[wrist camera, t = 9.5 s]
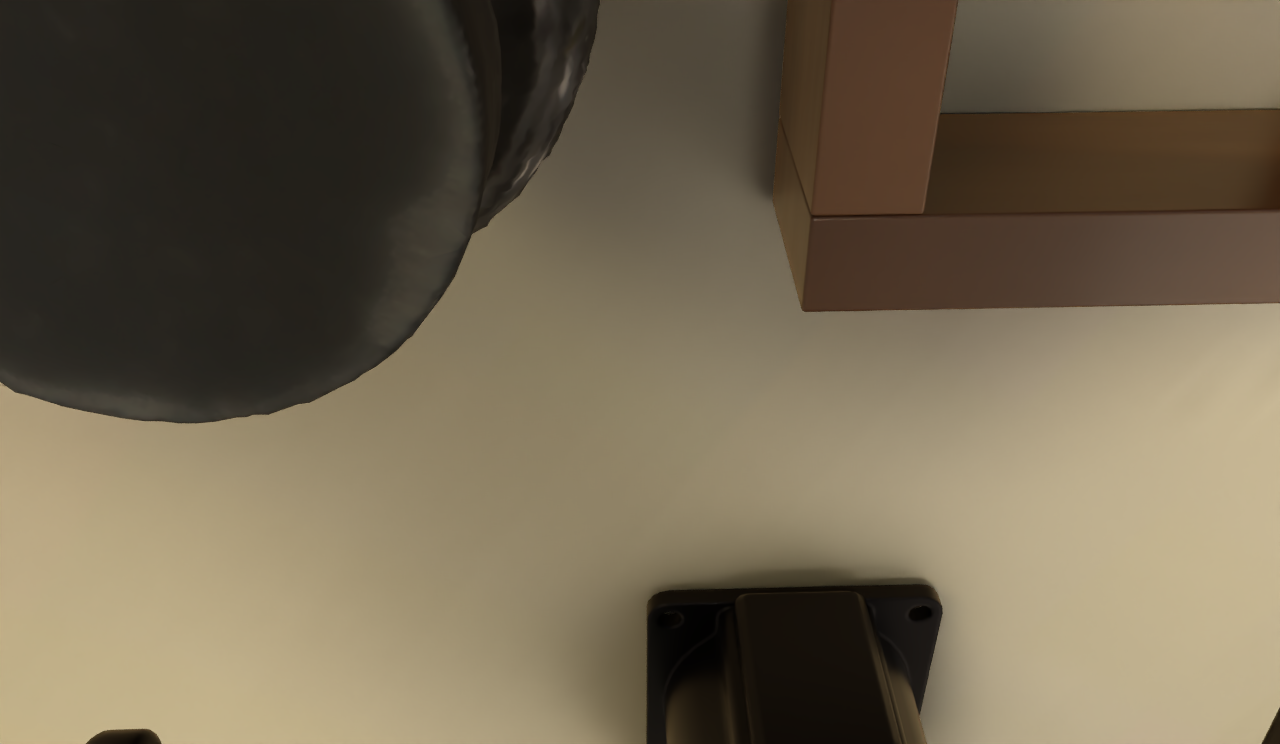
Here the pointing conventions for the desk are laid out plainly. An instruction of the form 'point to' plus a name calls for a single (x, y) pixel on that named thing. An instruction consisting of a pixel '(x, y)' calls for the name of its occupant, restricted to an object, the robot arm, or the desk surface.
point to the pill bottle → (255, 186)
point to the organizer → (1003, 184)
